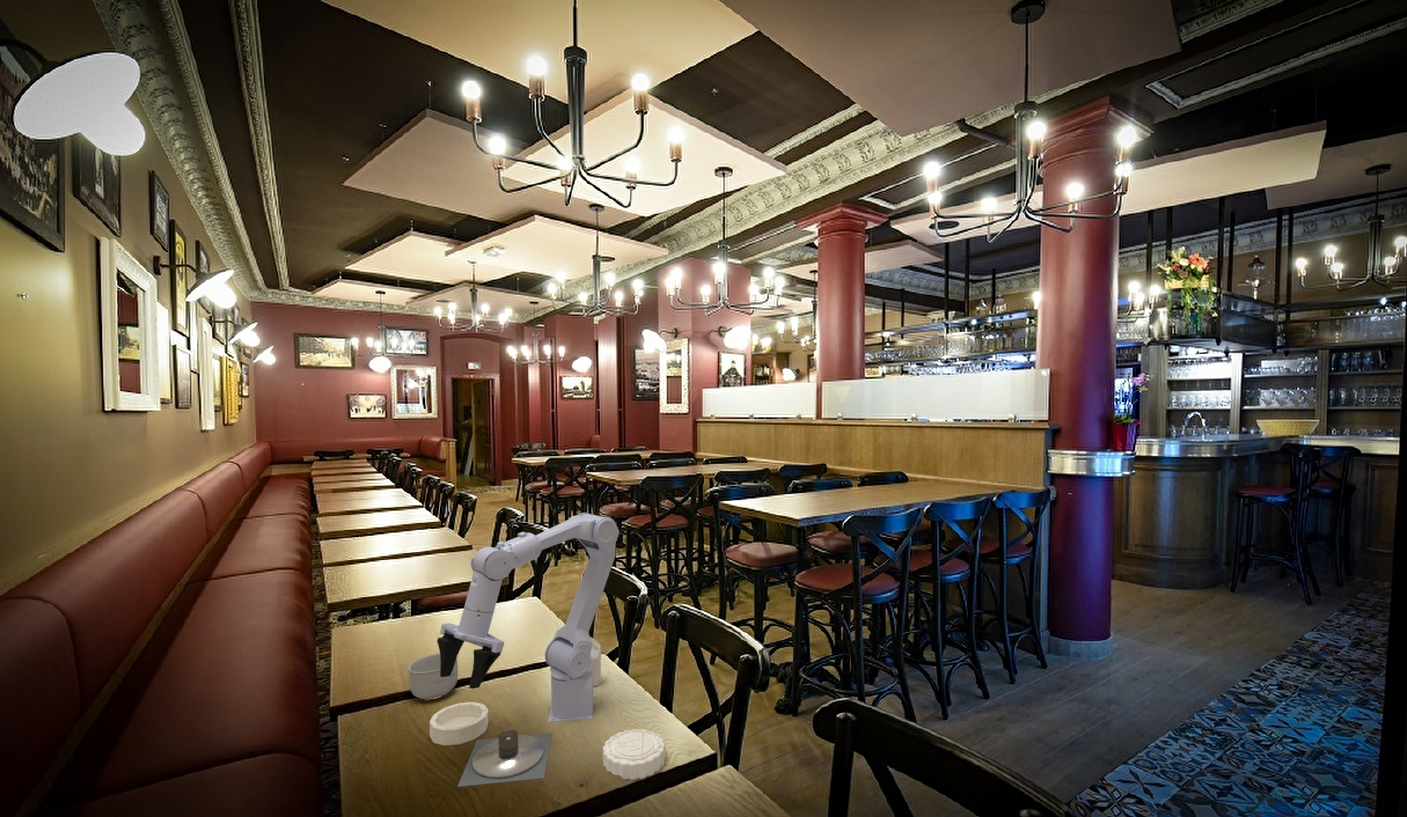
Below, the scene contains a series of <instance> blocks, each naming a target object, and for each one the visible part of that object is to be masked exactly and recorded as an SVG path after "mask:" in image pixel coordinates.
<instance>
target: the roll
mask: <svg viewBox="0 0 1407 817" xmlns="http://www.w3.org/2000/svg"><path fill="white" fill-rule="evenodd" d="M590 638H591V641H592V644H593V646H592V649H591V654H590V657H591V660H590V665H589V667H588V669H587V670H588V671H593V686H594V687H596V686H595V685H597V684H599V683H600V682H601V683H602V646H601V644H599V642H597V640H596V639H594V638H593V637H592V636H590ZM601 683H600V684H601ZM600 684H599V685H600ZM597 686H598V685H597Z"/></svg>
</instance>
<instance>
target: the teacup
mask: <svg viewBox="0 0 1407 817" xmlns="http://www.w3.org/2000/svg"><path fill="white" fill-rule="evenodd" d="M458 659H459V658H458V656H457V658H456V661H455V665H454V668H453V671H452V673H451V675H450V676H447V677H440V666H441V660H440V652H438V653H437V652H436V653H431V654H427V655H425V656H422V657H420V658H418V659H416V660H414V661H412V662H411V663H409V665H408V667H407V670H408V677H409V678H408V680H409V686H410V692H411V693H412V695H413V696H414V697H416V698H418V699H420V698H422V699H429V698H435V697H439V696H443V695H445V696H446V695H448V694H449V693H450V692H451V691H452V689H454V688H455V686H456V685H457V682H458V679H459V666H458V665H459V664H458ZM449 691H450V692H449ZM448 692H449V693H448ZM447 693H448V694H447ZM443 697H444V696H443ZM422 699H421V700H422Z"/></svg>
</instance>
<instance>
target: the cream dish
mask: <svg viewBox="0 0 1407 817" xmlns="http://www.w3.org/2000/svg"><path fill="white" fill-rule="evenodd" d="M488 726H489V709H488V708H487V706H486V705H485V704H484V703H479V702H475V701H474V702H473V701H472V702H471V701H469V702H459V703H455V704H452V705H449V706H448V705H447V706H446V707H443V708H441V709H440V710H438V711H437V712H436V713H434V714H433V715H432V717H431V719H430V720H429V737H430V739H431V741H432V743H433V744H437V745H440V746H444V747H446V746H455V745H456V746H457V745H462V744H465V743H468V742H471V741H475V740H476V739H477V738H478V737H480V736H481V735H483V734H485V732H486V731H487V728H488Z"/></svg>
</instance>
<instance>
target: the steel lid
mask: <svg viewBox="0 0 1407 817" xmlns="http://www.w3.org/2000/svg"><path fill="white" fill-rule="evenodd" d="M527 735H528V734H519V733H518V731H517V730H506V731H503V732H501V733H500V734H499V735H498V738H499V739H496V740H493V741H491V742H489V743H487V744H486V745H484V746H483V747H481V748H480V749H479V750H478V751H477V752H476V753H475V755H474V757H473V761H472V766H473V770H474V771H475V773H476V774H478V775H479V776H481V777H484V778H489V779H503V778H509V777H514V776H517V775H520V774H522V773H524V772H527V771H528V770H530V769H532V768H533V767H534V766H536V765H537V764H538V763H539V762H540V760H541V759H542V757H543V744H542V742H541V741H540V740H538V739H537V738H535V737H532V736H527Z"/></svg>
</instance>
